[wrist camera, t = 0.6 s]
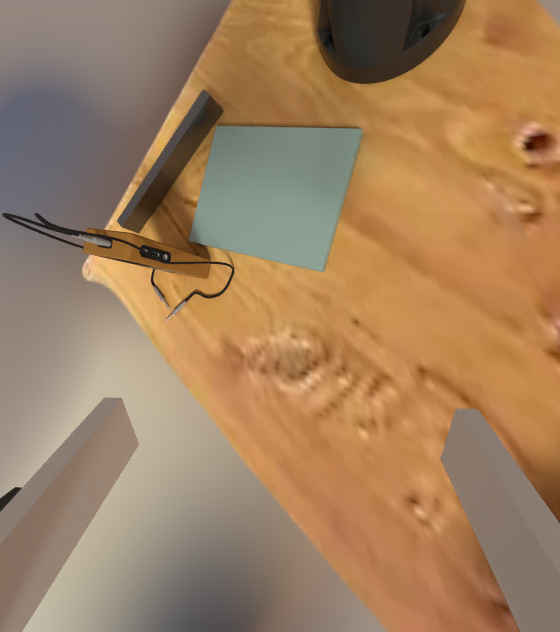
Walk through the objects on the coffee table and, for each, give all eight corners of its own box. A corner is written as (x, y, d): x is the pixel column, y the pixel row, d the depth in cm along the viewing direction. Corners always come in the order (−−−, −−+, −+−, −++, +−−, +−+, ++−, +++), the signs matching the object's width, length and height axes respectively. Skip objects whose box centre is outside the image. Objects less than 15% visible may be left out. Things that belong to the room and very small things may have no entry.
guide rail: (216, 105, 40) (203, 89, 38) (223, 110, 40) (210, 95, 37) (133, 227, 46) (116, 220, 43) (138, 233, 46) (121, 227, 43)
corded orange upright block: (145, 315, 45) (-35, 308, 26) (156, 252, 44) (-20, 199, 26) (222, 336, 39) (61, 346, 21) (236, 263, 38) (83, 206, 20)
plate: (220, 130, 40) (216, 125, 39) (362, 134, 32) (361, 128, 31) (193, 242, 41) (188, 240, 40) (323, 272, 34) (321, 271, 33)
